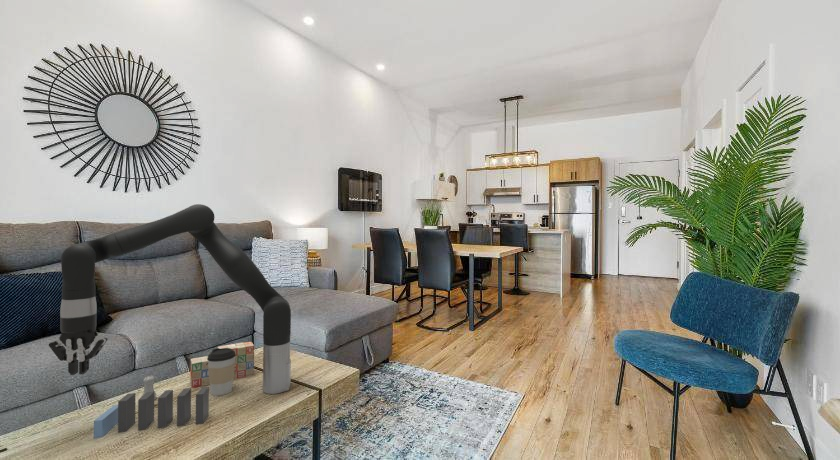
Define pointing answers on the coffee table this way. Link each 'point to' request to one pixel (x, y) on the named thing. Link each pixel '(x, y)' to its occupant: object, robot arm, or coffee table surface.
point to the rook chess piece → (149, 385)
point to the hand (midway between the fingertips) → (78, 373)
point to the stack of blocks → (242, 368)
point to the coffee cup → (221, 370)
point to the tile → (106, 422)
